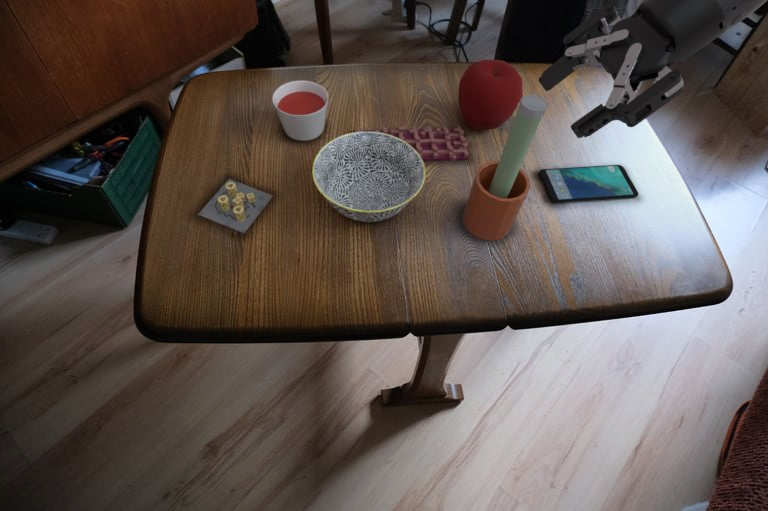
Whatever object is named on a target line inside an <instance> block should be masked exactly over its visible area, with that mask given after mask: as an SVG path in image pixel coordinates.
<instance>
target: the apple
mask: <svg viewBox="0 0 768 511" xmlns="http://www.w3.org/2000/svg"><path fill="white" fill-rule="evenodd" d="M457 96H458V97H457V98H458V100H457V104H458V108H459V111H460V115H461V118H462V120H463V122H464V123H465V124H466V125H467V126H469V128H472V129H476V130H477V131H481V130H482V131H491V130H496V129H497V128H499V127H501V126H502V125H503V124H504V123H506V121H508V120H509V119H510V118H511V117H512V116H513V114H514V112H515V111H516V109H517V108H518V106H519V105H520V102H521V99H522V98H523V97H524V92H523V78H522V76H521V75H520V73H519V72H518V70H517V69H516V68H515V67H514V66H513V65H511V64H510V63H509V62H507V61H503V60H500V59H481V60H479V61H476V62H473V63H471V64H469V65H468V67H467V68H466V69H465V71H464V72H463V74H462V76H461V78H460V80H459V84H458V95H457Z"/></svg>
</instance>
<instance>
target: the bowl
mask: <svg viewBox="0 0 768 511" xmlns="http://www.w3.org/2000/svg"><path fill="white" fill-rule="evenodd" d="M372 131H373V130H372ZM372 131H368V130H361V132H356V131H355V132H354V131H353V132H349V133H346V134H342V135H339V136H338V137H334V138H333V139H332V140H330V141H328V142H327V143H326V144H325V145H323V146H322V147H321V149H320V150H319V151H318V152H317V154H316V156H314V157H315V158H314V160H313V163H312V168H311V176H312V180H313V183H314V185H315V187H316V188H317V190H318V192H319V193H320V194H321V195H322V196H323V197H324V198H325V200H326V201H327V202H328V204H330V206H331V207H332V208H333V209H334V210H335V211H337V212H338V213H339V214H340V215H342V216H344V217H346V218H348V219H351V220H353V221H357V222H361V223H362V222H363V223H377V222H381V221H385V220H387V219H390V218H392V217H394V216H396V215H397V214H398V213H400V212H402V211H403V210H404V208H406V207H407V205H408V204H409V203H410V202H411V201H412V200H413V199H414V198H416V196H417V195H418V194H419V193H420V191H421V189H422V188H423V186H424V184H425V181H426V176H427V173H426V172H427V171H426V170H427V169H426V166H425V162H423V160H422V158H421V157H420V155H419V154H418V153H417V151H416V150H415V149H414V148H413V147H412V146H410V145H409V144H408V143H406V142H405V141H403V140H401V139H399V138H397V137H394V136H392V135H389V134H385V133H380V132H372Z"/></svg>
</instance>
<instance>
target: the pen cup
mask: <svg viewBox="0 0 768 511" xmlns="http://www.w3.org/2000/svg"><path fill="white" fill-rule="evenodd" d="M499 161H500V160H493V161H488V162H485V163H483V164H482V165H480V166H479V167H478V169H477V171H476V173H475V175H474V177H473V178H474V179H473V181H472V185H471V187H470V190H469V195H468V198H467V201H466V204H465V207H464V210H463V214H462V222H463V223H462V224H463V225H464V228H465V229H466V231H467V232H469V234H471V235H472V236H474V237H475V238H477V239H480V240H483V241H488V242H491V241H492V242H493V241H498V240H502V239H503V238H505V237H506V236H507V235H508V234H509V233H510V231H511V229H512V227H513V226H514V224H515V221H516V219H517V217H518V216H519V213H520V211H521V209H522V207H523V204H524V202H525V200H526V198H527V195H528V193H529V191H530V189H531V182H530V178H529V176H528V175H527V173H526V172H525V171H524V170H523V169H521V168H520V169H519V172H518V174H517V176H516V179H515V181H514V183H513V186H512V188H511V191H510V193H509V195H508V198H499V197H496V196H494V195H491V194H490V193H489V192H488V191H489V188H490V185H491V183H492V180H493V177H494V175H495V172H496V169H497V166H498V164H499Z"/></svg>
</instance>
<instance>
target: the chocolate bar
mask: <svg viewBox="0 0 768 511" xmlns="http://www.w3.org/2000/svg"><path fill="white" fill-rule="evenodd" d="M361 131H362V130H361V127H356V128H355V132H361ZM367 131H372V132H380V133H385V134H389V135H392V136H394V137H397V138H399V139H401V140H403V141H405V142H406V143H408V144H409V145H410V146H412V147H413V148H414V149H415V150H416V151H417V153H418V154H419V155H420V157H421V158H422V160H423V162H424V163H427V162H454V161H457V162H458V161H468V159H469V156H470V154H469V150H468V148H469V144H468V143H469V142H468V141H467V138H466V137H465V136H464V135H465V130H464V129H462V125H456V127H454V128H449V127H447V125H442V126H441V127H437V128H432V125H427V127H426V128H424V129H423V128H422V129H420V128H419V129H418V128H417V126H412V128H410V129H408V128H407V125H406V126H397V129H389V130H388V128H387V127H386V126H385V127H384V126H383V127H382V130H380V129H375V130H373V127H372V126H368V127H367Z"/></svg>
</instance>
